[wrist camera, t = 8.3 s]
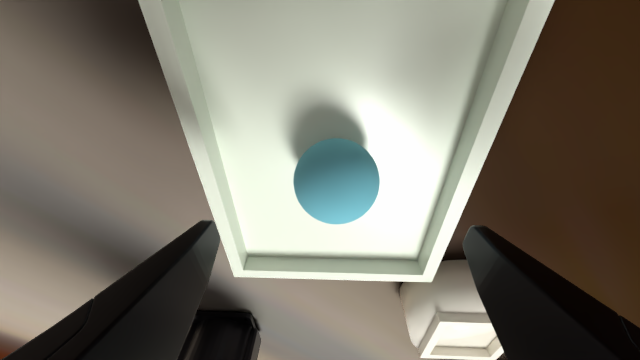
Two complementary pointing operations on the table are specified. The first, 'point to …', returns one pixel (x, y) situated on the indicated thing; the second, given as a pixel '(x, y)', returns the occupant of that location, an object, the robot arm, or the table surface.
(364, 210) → the ball
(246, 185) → the tray
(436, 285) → the cup
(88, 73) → the table surface
